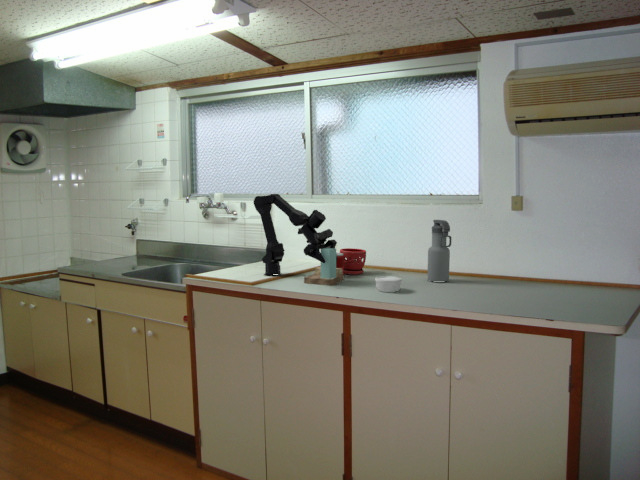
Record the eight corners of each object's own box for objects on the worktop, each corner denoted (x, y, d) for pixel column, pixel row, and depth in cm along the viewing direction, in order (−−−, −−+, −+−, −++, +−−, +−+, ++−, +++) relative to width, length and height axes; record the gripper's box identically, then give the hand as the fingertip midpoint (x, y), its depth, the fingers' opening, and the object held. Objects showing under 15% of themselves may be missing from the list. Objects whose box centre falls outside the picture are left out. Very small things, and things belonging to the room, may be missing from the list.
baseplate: (304, 283, 241) (304, 277, 240) (316, 277, 254) (316, 272, 253) (333, 285, 235) (333, 279, 235) (344, 280, 248) (344, 274, 248)
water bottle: (454, 281, 244) (455, 220, 241) (436, 283, 240) (438, 221, 236) (439, 278, 253) (441, 219, 250) (423, 279, 249) (424, 219, 245)
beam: (315, 274, 250) (315, 267, 249) (317, 272, 253) (317, 266, 252) (339, 275, 245) (339, 269, 245) (341, 274, 248) (341, 268, 248)
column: (320, 277, 240) (320, 248, 239) (327, 276, 244) (327, 247, 243) (329, 278, 237) (329, 249, 236) (336, 277, 241) (336, 248, 240)
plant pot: (348, 276, 257) (349, 252, 256) (334, 272, 269) (334, 248, 267) (371, 274, 264) (371, 250, 262) (356, 270, 275) (356, 247, 274)
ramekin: (386, 286, 233) (386, 274, 233) (406, 290, 226) (407, 278, 225) (369, 290, 226) (369, 278, 225) (390, 294, 218) (390, 281, 217)
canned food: (343, 275, 261) (344, 252, 260) (343, 278, 254) (343, 255, 252) (328, 274, 262) (328, 252, 261) (326, 277, 254) (326, 254, 253)
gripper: (308, 224, 233) (328, 252, 228) (333, 222, 248) (353, 247, 242) (294, 241, 239) (314, 268, 233) (320, 237, 253) (339, 263, 248)
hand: (331, 261), depth 239 cm, fingers open, 9 cm apart
